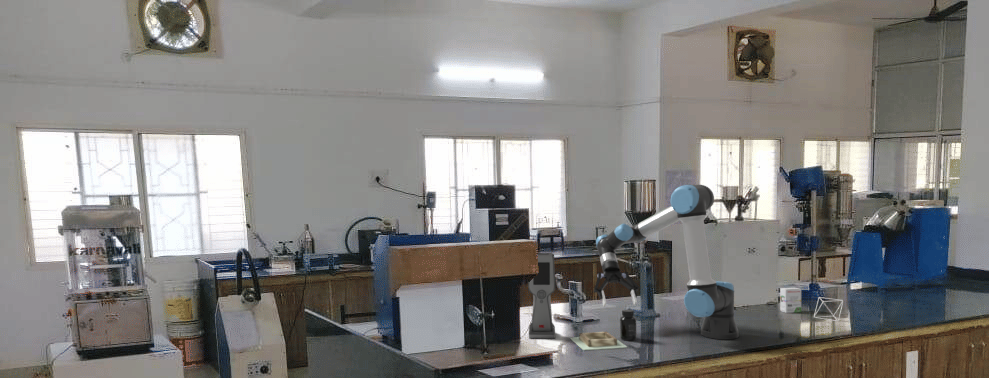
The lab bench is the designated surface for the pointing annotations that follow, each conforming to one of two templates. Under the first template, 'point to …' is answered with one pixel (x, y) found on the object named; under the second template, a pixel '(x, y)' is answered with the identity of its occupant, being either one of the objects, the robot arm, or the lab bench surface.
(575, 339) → the mat
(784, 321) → the lab bench surface
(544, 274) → the thermal camera
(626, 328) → the supplement bottle
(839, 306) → the geometric polyhedron
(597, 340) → the wooden square frame
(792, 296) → the ink box
